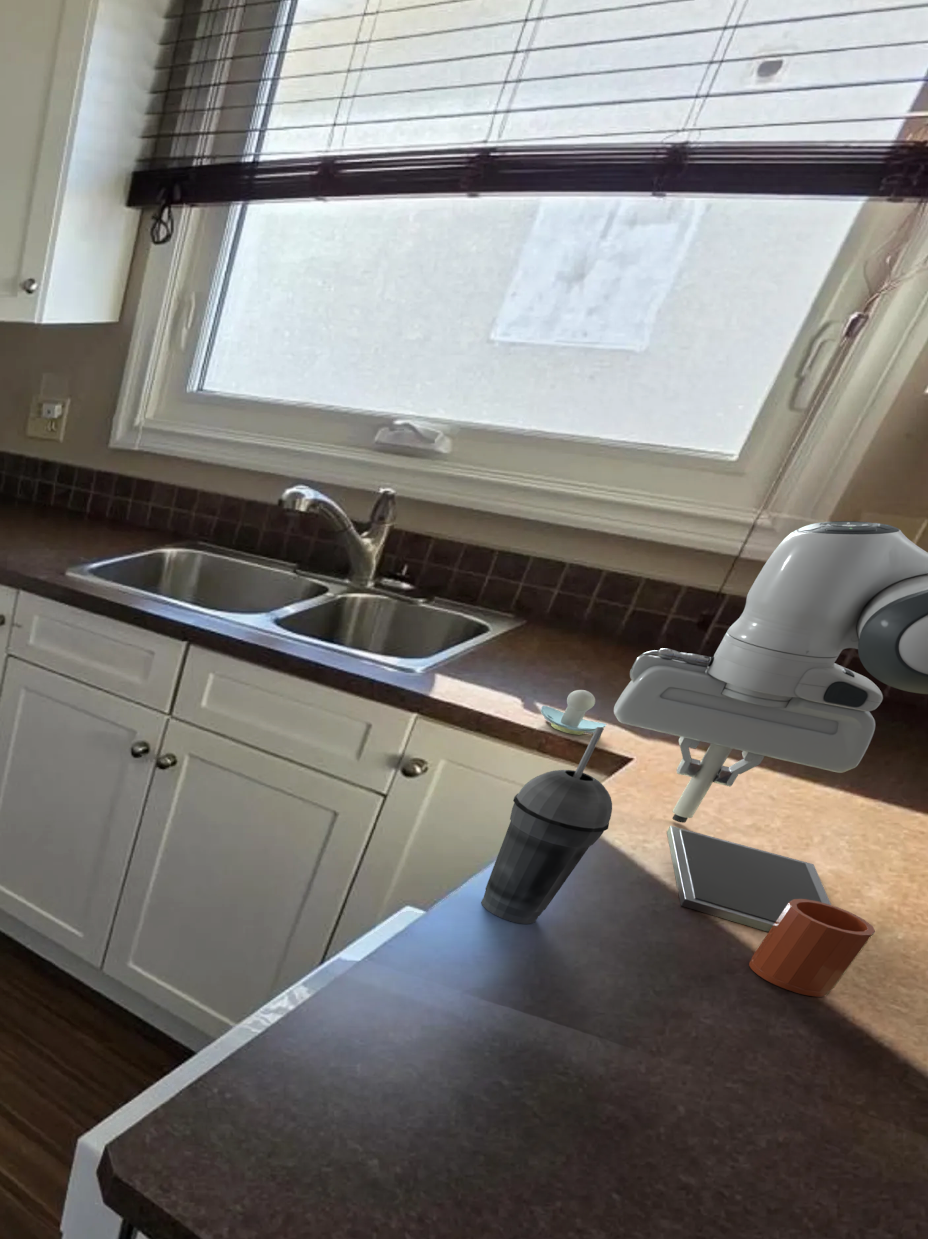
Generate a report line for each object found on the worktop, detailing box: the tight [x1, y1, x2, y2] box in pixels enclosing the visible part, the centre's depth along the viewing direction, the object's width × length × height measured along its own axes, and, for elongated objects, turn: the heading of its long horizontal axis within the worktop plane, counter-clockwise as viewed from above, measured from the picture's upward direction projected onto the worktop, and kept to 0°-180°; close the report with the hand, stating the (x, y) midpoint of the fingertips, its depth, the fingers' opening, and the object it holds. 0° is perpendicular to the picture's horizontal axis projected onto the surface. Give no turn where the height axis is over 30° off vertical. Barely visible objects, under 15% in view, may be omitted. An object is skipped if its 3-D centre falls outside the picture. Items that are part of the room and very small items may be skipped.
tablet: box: [666, 825, 832, 933], centre depth 108 cm, size 12×20×1 cm, turn 141°
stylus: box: [672, 743, 734, 824], centre depth 117 cm, size 2×2×14 cm
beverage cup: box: [481, 727, 613, 925], centre depth 97 cm, size 7×7×20 cm
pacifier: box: [540, 689, 607, 736], centre depth 143 cm, size 7×6×6 cm
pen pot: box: [748, 899, 876, 998], centre depth 92 cm, size 5×5×7 cm
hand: (703, 778), depth 118 cm, fingers closed on stylus, 2 cm apart
